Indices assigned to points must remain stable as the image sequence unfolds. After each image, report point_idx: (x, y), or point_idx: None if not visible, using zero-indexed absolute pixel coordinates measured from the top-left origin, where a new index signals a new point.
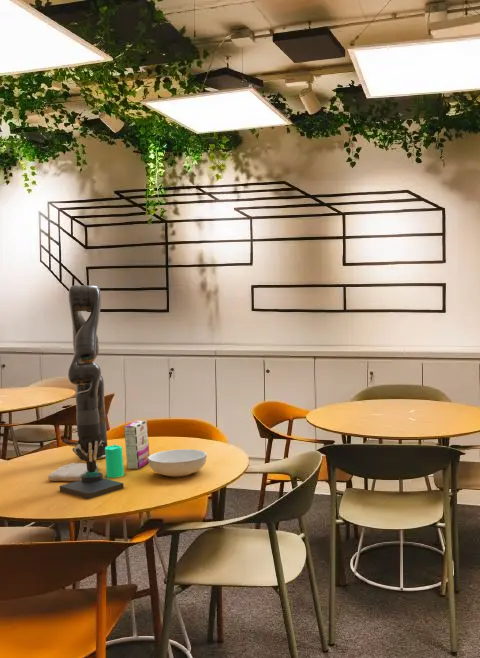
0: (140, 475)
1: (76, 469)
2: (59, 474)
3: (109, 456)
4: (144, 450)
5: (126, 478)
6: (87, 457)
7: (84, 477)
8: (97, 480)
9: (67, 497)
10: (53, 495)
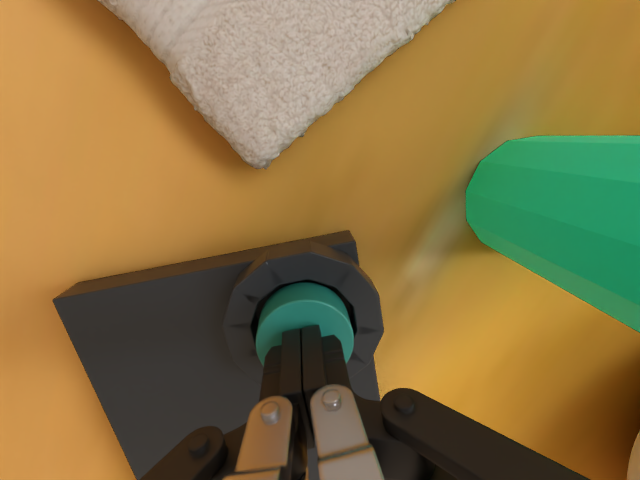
0: None
1: None
2: None
3: (595, 291)
4: None
5: (516, 307)
6: (274, 445)
7: (231, 353)
8: None
9: (89, 417)
10: (22, 332)
